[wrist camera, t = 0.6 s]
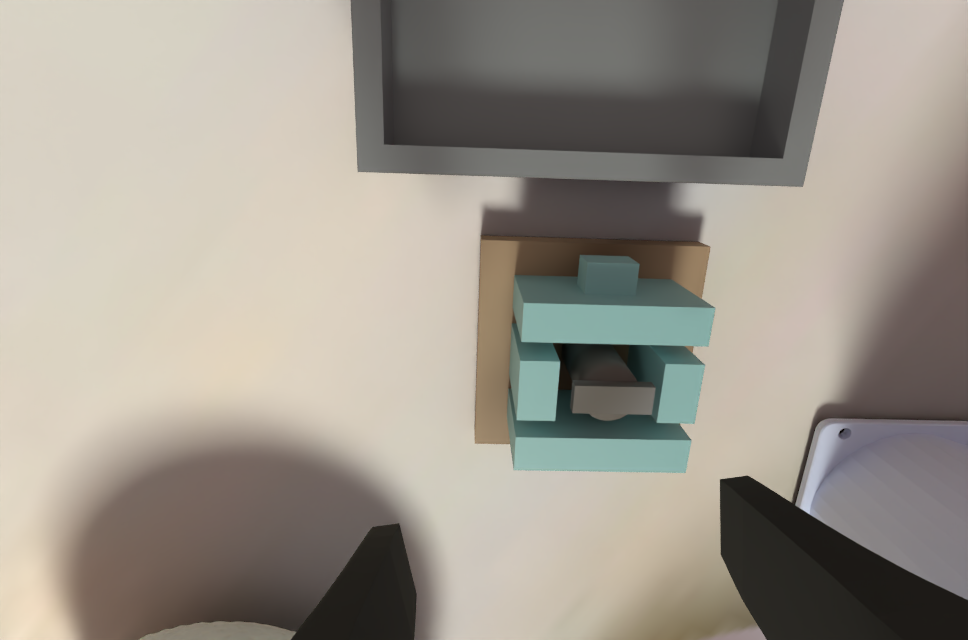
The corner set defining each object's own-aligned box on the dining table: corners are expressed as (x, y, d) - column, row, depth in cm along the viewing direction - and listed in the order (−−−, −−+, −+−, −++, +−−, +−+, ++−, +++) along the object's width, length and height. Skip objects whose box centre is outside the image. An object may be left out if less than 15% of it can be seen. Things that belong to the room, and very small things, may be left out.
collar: (675, 251, 18) (721, 274, 15) (650, 419, 20) (685, 472, 17) (515, 246, 18) (525, 268, 15) (506, 416, 20) (513, 469, 17)
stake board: (698, 241, 19) (773, 272, 14) (667, 433, 22) (722, 514, 17) (480, 235, 19) (484, 264, 14) (474, 430, 21) (475, 511, 17)
